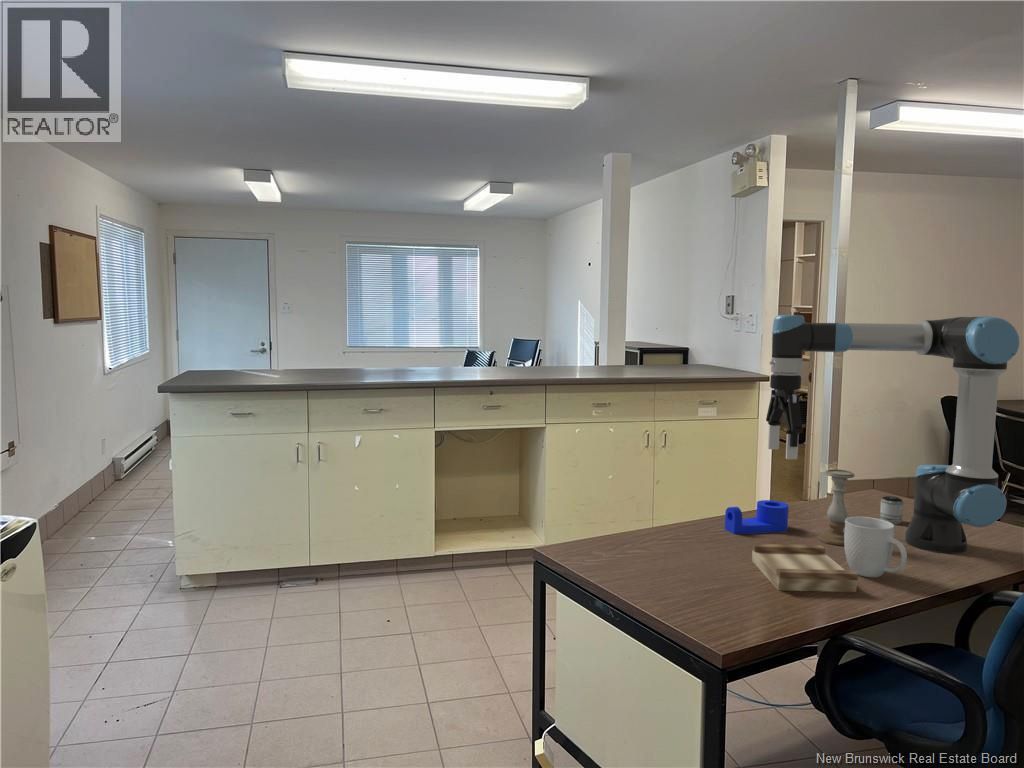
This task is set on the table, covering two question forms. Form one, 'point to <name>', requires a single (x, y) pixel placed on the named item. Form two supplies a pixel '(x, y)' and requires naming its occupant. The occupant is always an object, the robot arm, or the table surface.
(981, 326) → the robot arm
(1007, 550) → the table surface
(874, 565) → the mug
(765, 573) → the wooden tray
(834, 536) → the candle holder
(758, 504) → the bracket
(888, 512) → the camera lens
